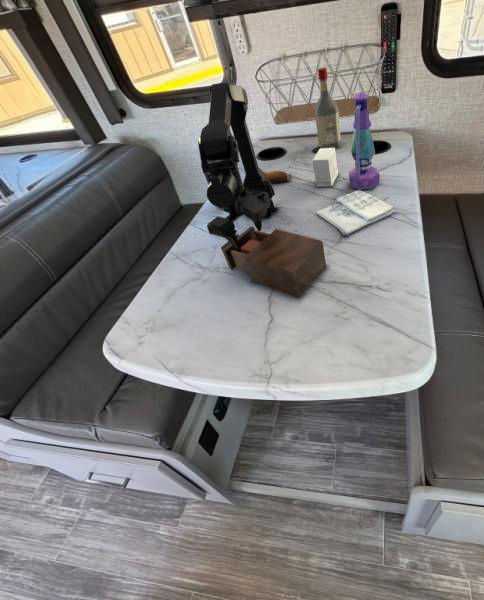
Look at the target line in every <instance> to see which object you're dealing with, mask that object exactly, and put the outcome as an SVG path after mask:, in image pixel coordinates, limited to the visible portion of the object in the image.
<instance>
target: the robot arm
mask: <svg viewBox="0 0 484 600" xmlns="http://www.w3.org/2000/svg"><path fill="white" fill-rule="evenodd" d="M209 95H210V103H209V112H208V113H209V114H208V123H207V124H206V125H205V126H204V127H202V128H201V132H200V135H199V140H198V144H197V146H198V151H199V157H200V165H201V164H202V167H201V170H202V173H203V174H204V173H210V174H211V177H210V181H211V182H210V184H209V185H208V186H207V188H206V198H207V200H208V201H209V203H210V204H211V205H212V206H214V207H216V208H219V209H223V211H224V212H225V213H228V215H227V216H225V217H222V216H216V217H214V218H213V219H212V220H211V221H209V222H208V223H207V225H206V227H207V231H208V233H209V234H210V235H214V236H217V237H220V238H223V239H225V240H227V242H228V241H229V242H230V243H231V244H232V245H233V246H234V247H235V248H236V249H240V246H239V243H238V240H237V237H236V234H237V232H238V230H237V229H236V225H235V223H236V221H238V220H239V219H240V218H241V217H243V216H244V217H246V218H248V219H249V220H251V222H252V223H253V225H254V226H255V227H254V228H256V230H257V231H261V232H262V227H263V226H262V225H263V218H264V219H268V218H269V217H270V216H272V215H273V214H274V213H275V212H276V211H278V207H275V204H274V201H273V197H274V196H275V195H276V193H275V190H274V187H273V184H272V182H270V181H269V180H267V177H266V174H265V173H264V172H265V171H264V170H263V169H261V168H260V166H259V164H258V159H257V156H256V152H255V149H254V145H253V142H252V138H251V134H250V131H249V128H248V125H247V124H248V123H247V121H246V118H247V113H248V109H249V106H248V105H249V97H248V94H247V91H246V89H245V88H244V87H243V86H241V85H236V84H232V83H231V82H228V81H224V82H218V83H213V84H211V85H209ZM207 159H208V161H217V160H219V161H218V162H216V163H209V164H208V163H207ZM240 161H241V164H242V166H243V169H244V172H245V173H244V178H243V180H244V183H243V180H242V177H241V176H242V175H241V173H240V170H239V167H238V166H239V163H240Z"/></svg>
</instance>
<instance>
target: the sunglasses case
mask: <svg viewBox="0 0 484 600" xmlns="http://www.w3.org/2000/svg"><path fill="white" fill-rule="evenodd" d="M263 172H264V173H265V174H266V177H267V180H269V181H270V183H276V182H283V181H287V182H289V181H290V175H289V173H288V172H285V171H282V170H276V169H275V170H269V171H263ZM242 183H243V184H244V179H243V180H242Z"/></svg>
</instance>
